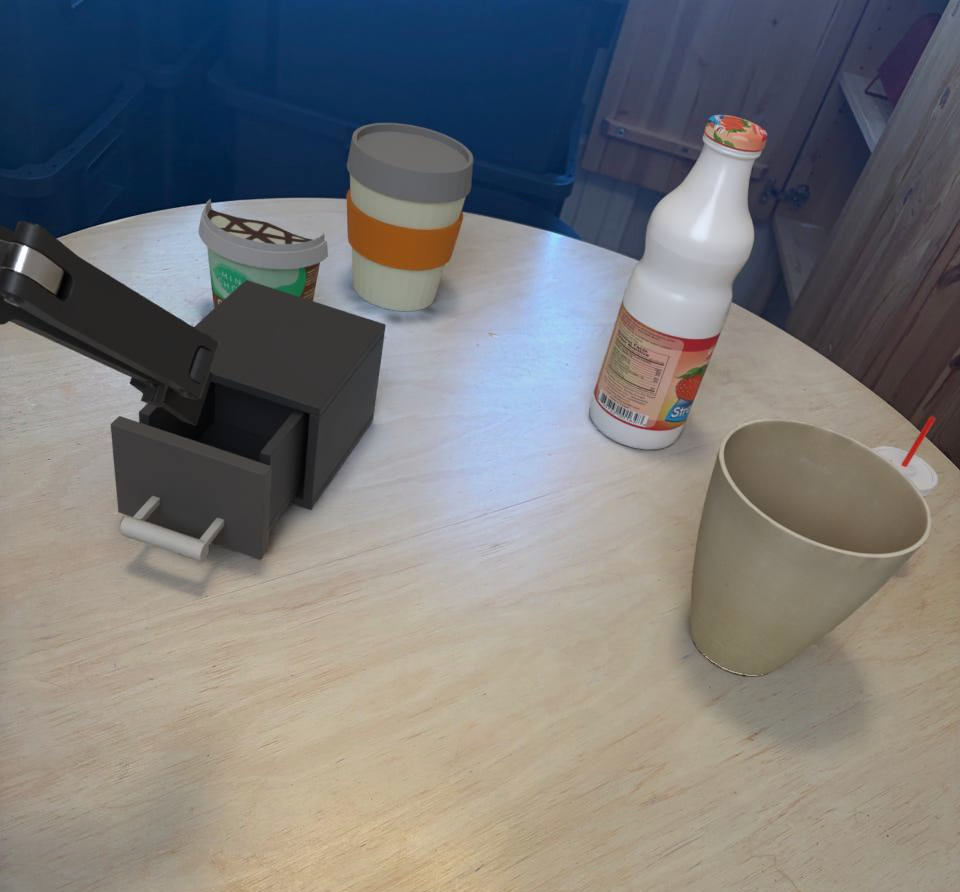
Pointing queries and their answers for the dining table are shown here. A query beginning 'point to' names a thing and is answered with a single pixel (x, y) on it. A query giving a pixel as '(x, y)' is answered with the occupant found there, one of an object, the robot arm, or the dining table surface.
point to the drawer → (209, 473)
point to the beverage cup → (913, 462)
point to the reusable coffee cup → (404, 211)
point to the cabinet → (301, 369)
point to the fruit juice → (679, 292)
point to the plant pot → (795, 540)
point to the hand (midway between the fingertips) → (72, 357)
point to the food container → (258, 255)
